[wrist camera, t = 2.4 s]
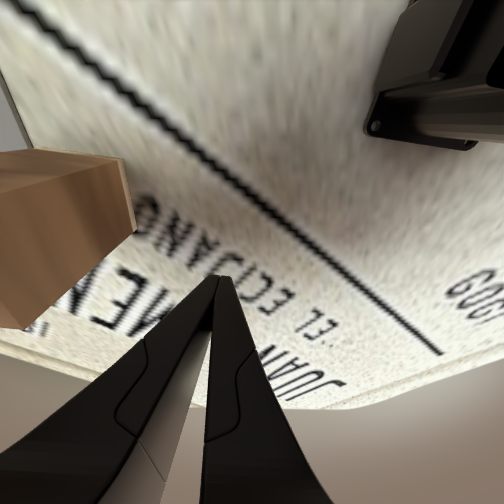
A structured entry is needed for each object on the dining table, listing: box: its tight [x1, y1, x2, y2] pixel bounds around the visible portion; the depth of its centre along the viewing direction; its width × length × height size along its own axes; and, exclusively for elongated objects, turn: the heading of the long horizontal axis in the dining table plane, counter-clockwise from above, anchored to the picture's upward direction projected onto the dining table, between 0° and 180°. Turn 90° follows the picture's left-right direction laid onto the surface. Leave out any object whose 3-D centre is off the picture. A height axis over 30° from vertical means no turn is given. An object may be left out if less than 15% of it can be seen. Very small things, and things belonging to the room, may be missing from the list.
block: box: [0, 147, 137, 330], centre depth 10 cm, size 5×5×9 cm
